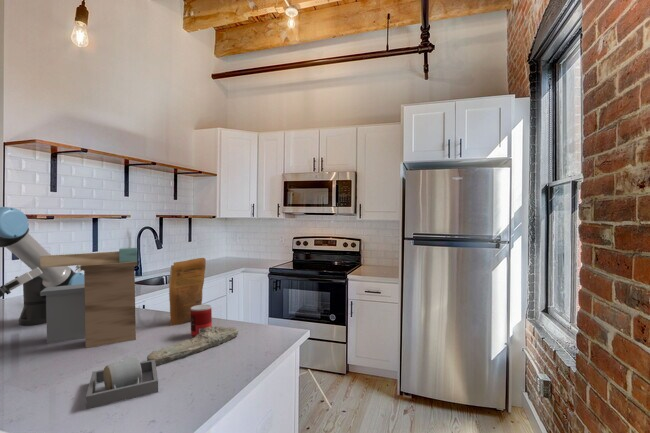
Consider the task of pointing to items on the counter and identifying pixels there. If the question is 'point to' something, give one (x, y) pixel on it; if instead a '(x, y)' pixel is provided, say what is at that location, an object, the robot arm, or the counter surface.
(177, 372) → the counter surface
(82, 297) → the tall grey box
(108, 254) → the oak beam
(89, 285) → the walnut pedestal
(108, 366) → the white cylinder
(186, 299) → the pancake mix bag
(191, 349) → the long grey stone
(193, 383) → the counter surface
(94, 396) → the frame
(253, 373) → the counter surface
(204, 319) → the canned food
